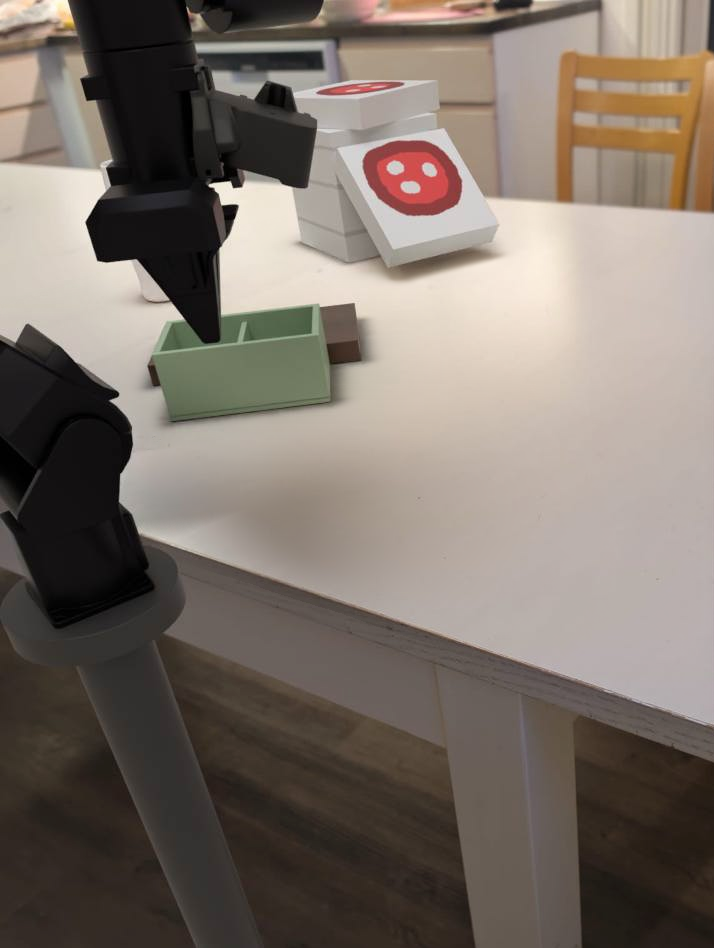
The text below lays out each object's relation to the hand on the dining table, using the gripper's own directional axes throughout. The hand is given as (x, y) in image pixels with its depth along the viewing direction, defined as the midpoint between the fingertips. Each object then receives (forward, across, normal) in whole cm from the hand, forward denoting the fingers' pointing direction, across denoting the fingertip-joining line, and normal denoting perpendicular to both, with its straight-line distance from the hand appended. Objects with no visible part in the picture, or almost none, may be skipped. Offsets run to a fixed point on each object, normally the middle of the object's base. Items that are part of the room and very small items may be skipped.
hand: (212, 341), depth 58 cm
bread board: (+13, +36, +2) cm, 39 cm away
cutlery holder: (+13, +25, +2) cm, 29 cm away
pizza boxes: (+13, +72, -14) cm, 74 cm away
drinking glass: (+13, +61, +14) cm, 64 cm away
